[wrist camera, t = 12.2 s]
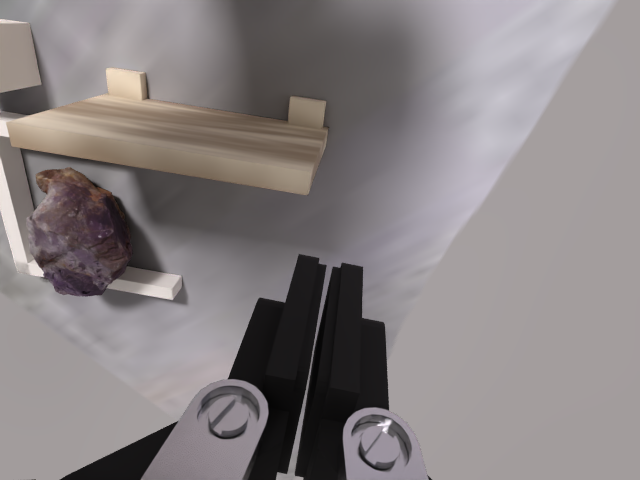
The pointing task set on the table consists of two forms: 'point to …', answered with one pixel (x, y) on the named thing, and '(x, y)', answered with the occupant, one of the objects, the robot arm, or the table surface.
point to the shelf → (182, 136)
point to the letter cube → (17, 57)
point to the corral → (16, 205)
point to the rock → (78, 234)
